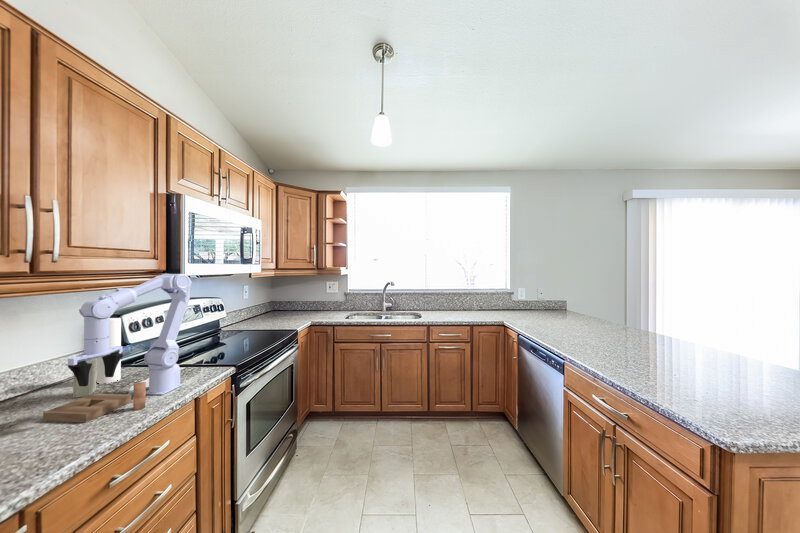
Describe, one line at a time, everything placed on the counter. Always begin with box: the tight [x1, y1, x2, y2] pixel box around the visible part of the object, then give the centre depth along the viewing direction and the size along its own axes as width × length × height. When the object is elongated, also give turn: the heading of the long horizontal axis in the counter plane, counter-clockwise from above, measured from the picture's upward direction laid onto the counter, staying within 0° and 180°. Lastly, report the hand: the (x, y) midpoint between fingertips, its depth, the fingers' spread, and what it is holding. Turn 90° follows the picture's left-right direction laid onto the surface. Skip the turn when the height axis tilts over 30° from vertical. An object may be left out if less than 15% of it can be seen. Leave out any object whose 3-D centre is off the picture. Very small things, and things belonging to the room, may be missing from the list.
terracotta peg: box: [132, 381, 147, 411], centre depth 100 cm, size 3×3×8 cm
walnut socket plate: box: [42, 393, 132, 423], centre depth 98 cm, size 14×14×2 cm
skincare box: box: [72, 358, 97, 399], centre depth 111 cm, size 6×4×12 cm
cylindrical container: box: [96, 317, 122, 385], centre depth 125 cm, size 7×7×25 cm
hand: (96, 381), depth 96 cm, fingers open, 7 cm apart
